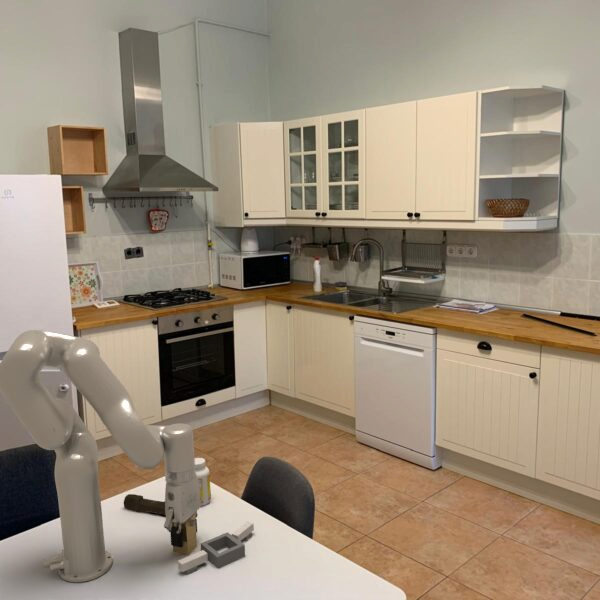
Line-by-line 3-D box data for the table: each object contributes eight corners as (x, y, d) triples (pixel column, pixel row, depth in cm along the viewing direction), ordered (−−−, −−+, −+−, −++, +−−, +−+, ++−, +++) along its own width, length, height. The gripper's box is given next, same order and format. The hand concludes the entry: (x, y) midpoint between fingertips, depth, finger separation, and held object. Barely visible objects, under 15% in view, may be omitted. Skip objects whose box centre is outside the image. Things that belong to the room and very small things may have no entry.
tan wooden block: (190, 556, 159) (188, 523, 158) (170, 551, 161) (168, 519, 160) (199, 546, 163) (197, 514, 162) (179, 542, 165) (177, 510, 164)
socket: (269, 544, 163) (269, 534, 163) (188, 581, 149) (188, 570, 148) (249, 530, 170) (249, 520, 170) (170, 564, 156) (169, 553, 155)
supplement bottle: (203, 494, 192) (201, 454, 189) (215, 502, 187) (213, 461, 184) (184, 501, 187) (181, 460, 185) (195, 509, 182) (193, 467, 180)
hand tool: (185, 514, 180) (184, 499, 180) (177, 521, 177) (176, 505, 176) (130, 504, 187) (129, 489, 187) (121, 510, 184) (120, 495, 183)
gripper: (174, 490, 149) (179, 560, 153) (210, 461, 165) (213, 524, 168) (147, 486, 152) (152, 554, 155) (185, 457, 168) (189, 520, 171)
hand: (184, 538), depth 162 cm, fingers open, 6 cm apart
